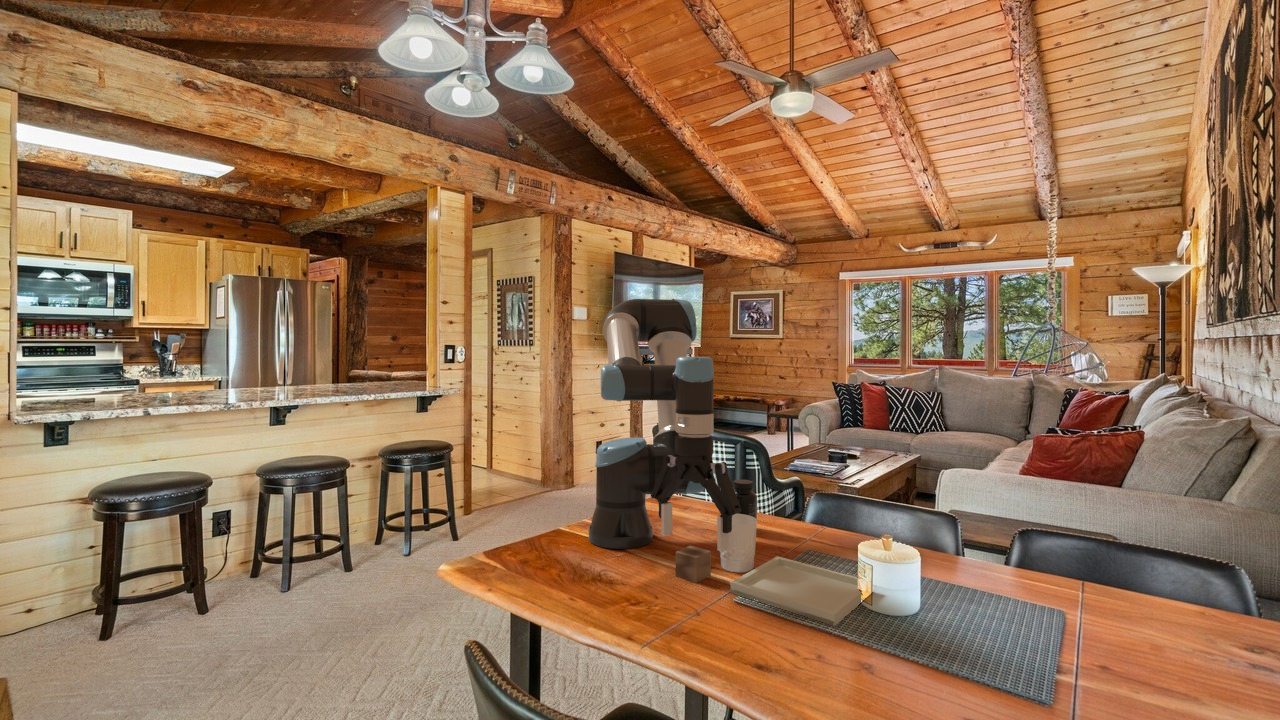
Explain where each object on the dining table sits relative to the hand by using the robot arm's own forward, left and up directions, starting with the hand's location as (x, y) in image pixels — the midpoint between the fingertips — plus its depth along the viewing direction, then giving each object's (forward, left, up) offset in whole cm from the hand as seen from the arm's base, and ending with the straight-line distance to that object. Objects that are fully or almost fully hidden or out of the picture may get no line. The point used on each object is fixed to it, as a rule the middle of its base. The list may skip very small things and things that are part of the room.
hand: (693, 541), depth 121 cm
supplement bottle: (-8, +32, -7) cm, 34 cm away
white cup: (+4, +10, -7) cm, 13 cm away
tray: (+20, +7, -7) cm, 22 cm away
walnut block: (0, 0, -7) cm, 7 cm away
